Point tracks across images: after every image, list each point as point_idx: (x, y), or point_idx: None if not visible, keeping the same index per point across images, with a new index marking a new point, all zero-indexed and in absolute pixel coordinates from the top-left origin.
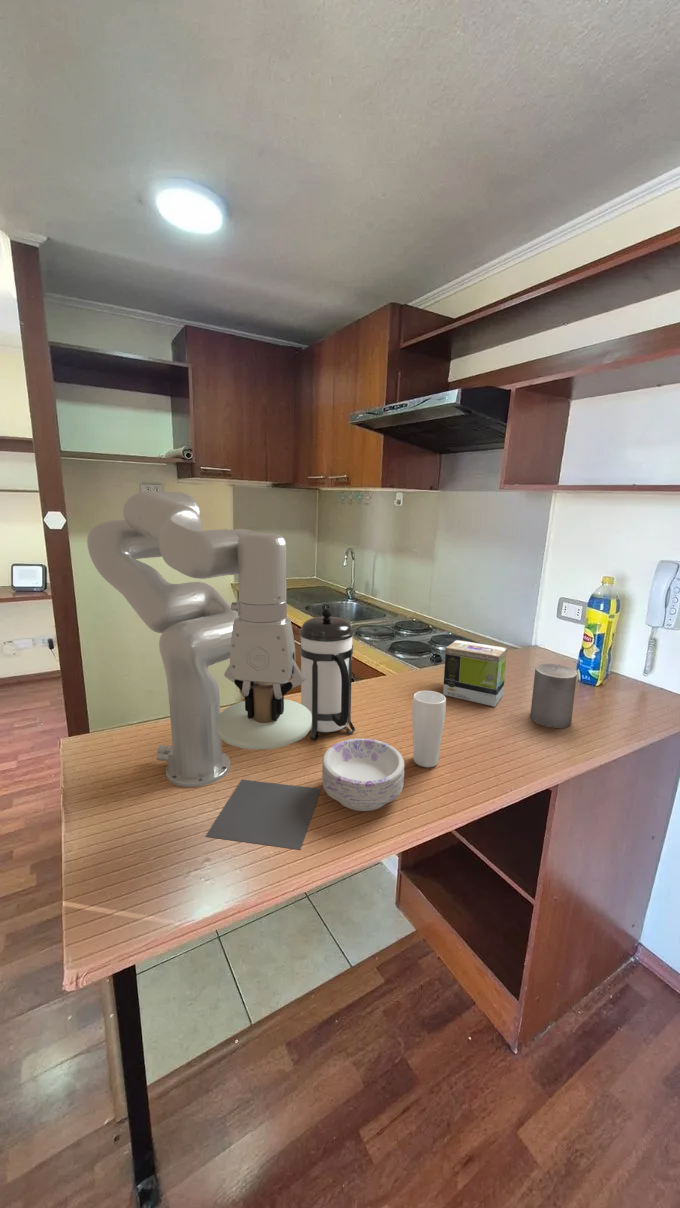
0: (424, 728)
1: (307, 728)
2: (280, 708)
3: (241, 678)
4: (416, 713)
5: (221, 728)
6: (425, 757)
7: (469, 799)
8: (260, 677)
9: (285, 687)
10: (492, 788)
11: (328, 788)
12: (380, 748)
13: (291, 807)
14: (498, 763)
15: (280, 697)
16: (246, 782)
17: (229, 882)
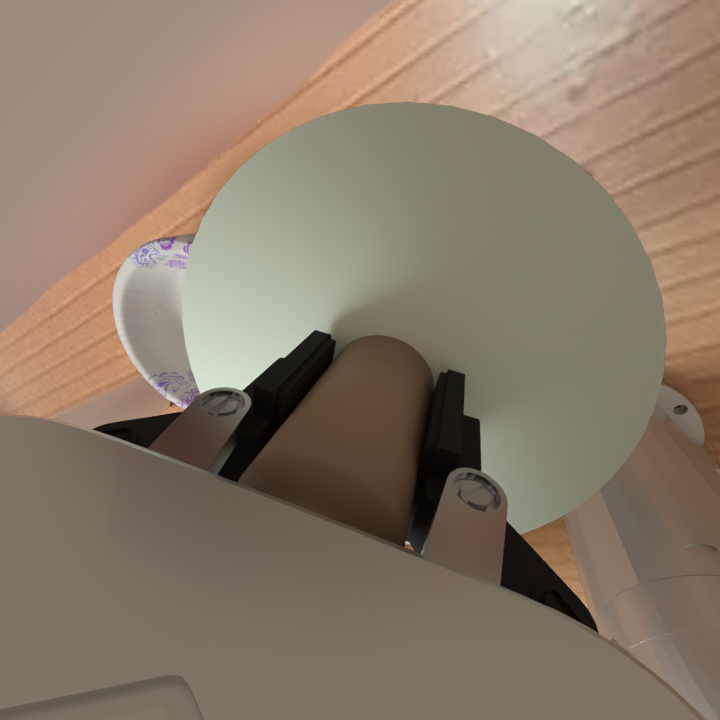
0: (82, 416)
1: (189, 281)
2: (269, 370)
3: (529, 622)
4: None
5: (631, 289)
6: (136, 383)
7: (82, 283)
8: (221, 542)
9: (136, 442)
10: (55, 309)
11: None
12: (173, 382)
13: None
14: (56, 370)
15: (221, 398)
16: None
17: (514, 5)
